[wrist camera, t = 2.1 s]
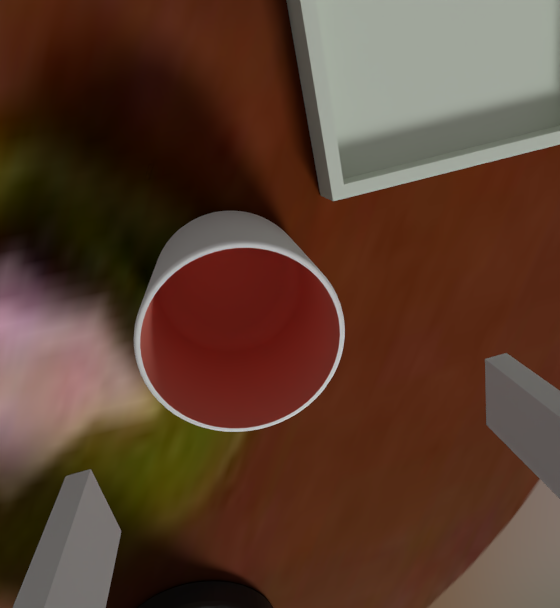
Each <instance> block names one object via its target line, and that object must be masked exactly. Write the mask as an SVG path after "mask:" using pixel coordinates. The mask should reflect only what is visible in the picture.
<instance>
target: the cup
mask: <svg viewBox="0 0 560 608" xmlns="http://www.w3.org/2000/svg"><path fill="white" fill-rule="evenodd" d="M344 338H345V325H344V317H343V312H342V308H341V304H340V302H339V299H338V297H337V294H336V292H335V291H334V289H333V287H332V285H331V284H330V282H329V281H328V279H327V278H326V277H325V276H324V274H323V273H322V272H321V271H320V270H319V269H318V268H317V267H316V266H315V264H314V263H313V262H312V261H311V260H310V259H309V258H308V257H307V256H306V254H305V253H304V252H303V251H302V250H301V249H300V248H299V247H298V246H297V245H296V243H295V242H294V241H293V240H292V239H291V238H290V237H289V236H288V235H287V234H286V233H285V232H284V231H283V230H282V229H281V228H280V227H278V226H277V225H276V224H274V223H273V222H271V221H269V220H267V219H265V218H263V217H261V216H258V215H256V214H252V213H248V212H243V211H219V212H213V213H209V214H206V215H203V216H200V217H198V218H196V219H194V220H192V221H190V222H189V223H187V224H186V225H184V226H183V227H181V228H180V229H179V230H178V231H177V232H176V233H175V234H174V235H173V236H172V237H171V238H170V239H169V241H168V242H167V243H166V245H165V246H164V248H163V249H162V251H161V253H160V255H159V258H158V260H157V263H156V265H155V268H154V271H153V274H152V276H151V279H150V282H149V284H148V287H147V290H146V293H145V295H144V298H143V301H142V303H141V306H140V309H139V312H138V315H137V319H136V323H135V329H134V351H135V357H136V362H137V365H138V368H139V371H140V374H141V376H142V378H143V380H144V382H145V384H146V385H147V387H148V388H149V390H150V391H151V393H152V394H153V395H154V396H155V397H156V399H157V400H158V401H159V402H160V403H161V404H162V405H163V406H165V407H166V408H167V409H168V410H169V411H171V412H172V413H174V414H175V415H176V416H178V417H180V418H182V419H184V420H185V421H188V422H190V423H192V424H194V425H197V426H200V427H204V428H208V429H212V430H218V431H228V432H241V431H251V430H257V429H261V428H265V427H269V426H272V425H275V424H277V423H280V422H282V421H284V420H286V419H288V418H290V417H292V416H294V415H295V414H297V413H298V412H300V411H301V410H303V409H304V408H305V407H307V406H308V405H309V404H310V403H311V402H313V401H314V400H315V399H316V398H317V397H318V396H319V395H320V393H321V392H322V391H323V390H324V389H325V387H326V386H327V384H328V383H329V381H330V380H331V378H332V377H333V375H334V373H335V371H336V369H337V366H338V364H339V361H340V358H341V355H342V351H343V346H344Z"/></svg>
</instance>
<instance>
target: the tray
mask: <svg viewBox="0 0 560 608" xmlns="http://www.w3.org/2000/svg"><path fill="white" fill-rule="evenodd" d="M286 2H287V7H288V13H289V19H290V24H291V30H292V36H293V42H294V47H295V53H296V59H297V65H298V70H299V76H300V82H301V87H302V93H303V99H304V105H305V110H306V116H307V122H308V127H309V133H310V139H311V145H312V150H313V156H314V162H315V168H316V173H317V179H318V185H319V190H320V195H321V196H323V197H325V198H327V199H329V200H332V201H336V200H340V199H344V198H348V197H352V196H356V195H360V194H364V193H368V192H372V191H376V190H380V189H384V188H388V187H392V186H396V185H400V184H404V183H408V182H412V181H416V180H420V179H424V178H428V177H432V176H436V175H440V174H444V173H448V172H452V171H456V170H460V169H464V168H468V167H472V166H475V165H479V164H483V163H487V162H491V161H495V160H499V159H503V158H507V157H511V156H515V155H519V154H523V153H527V152H531V151H535V150H539V149H543V148H547V147H551V146H555V145H559V144H560V0H286Z"/></svg>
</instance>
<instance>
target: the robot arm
mask: <svg viewBox="0 0 560 608" xmlns="http://www.w3.org/2000/svg"><path fill="white" fill-rule="evenodd" d="M485 375H486V425H487V426H488V427H489V428H490V429H491V430H492V431H493V432H494V433H495V434H496V435H497V436H498V437H499V438H500V439H501V440H502V441H503V442H504V443H505V444H506V445H507V446H508V447H509V448H510V449H511V450H512V451H513V452H514V453H515V454H516V455H517V456H518V457H519V458H520V459H521V460H522V461H523V462H524V463H525V464H526V465H527V466H528V467H529V468H530V469H531V470H532V471H533V472H534V473H535V474H536V475H537V476H538V477H539V478H540V479H541V480H542V481H543V482H544V483H545V484H546V485H547V486H548V487H549V488H550V489H551V490H552V491H553V492H554V493H555V494H556V495H557V496H558V497H559V498H560V391H559V390H558V389H556V388H555V387H554V386H552V385H551V384H549V383H548V382H547V381H545V380H544V379H542V378H541V377H539V376H538V375H537V374H535V373H534V372H532V371H531V370H530V369H528V368H527V367H525V366H524V365H522V364H521V363H520V362H518V361H517V360H515V359H514V358H513V357H511V356H510V355H508V354H507V353H505V354H502V355H498V356H495V357H491V358H487V359H485ZM120 536H121V529H120V527H119V525H118V523H117V521H116V519H115V517H114V515H113V513H112V511H111V509H110V507H109V505H108V503H107V501H106V499H105V497H104V495H103V493H102V491H101V489H100V487H99V485H98V483H97V481H96V479H95V477H94V475H93V473H92V471H91V469H89V470H86V471H82V472H79V473H75V474H72V475H68V476H66V477H65V479H64V482H63V484H62V487H61V489H60V492H59V494H58V497H57V499H56V502H55V504H54V507H53V509H52V512H51V514H50V517H49V519H48V521H47V524H46V526H45V529H44V531H43V534H42V536H41V539H40V541H39V544H38V546H37V549H36V551H35V554H34V556H33V559H32V561H31V564H30V566H29V568H28V571H27V573H26V576H25V578H24V581H23V583H22V586H21V588H20V591H19V593H18V596H17V598H16V601H15V603H14V606H13V608H106V604H107V599H108V594H109V589H110V584H111V580H112V575H113V570H114V565H115V560H116V555H117V550H118V546H119V541H120ZM138 608H273V607H272V606H271V604H270V603H269V602H268V600H267V599H266V598H265V597H263V596H262V595H261V594H259V593H258V592H256V591H254V590H253V589H250V588H248V587H246V586H243V585H239V584H235V583H230V582H221V581H206V582H196V583H190V584H185V585H181V586H178V587H175V588H172V589H169V590H167V591H164V592H162V593H160V594H158V595H156V596H154V597H152V598H151V599H149V600H147V601H146V602H144V603H143V604H142V605H140V606H139V607H138Z"/></svg>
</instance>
